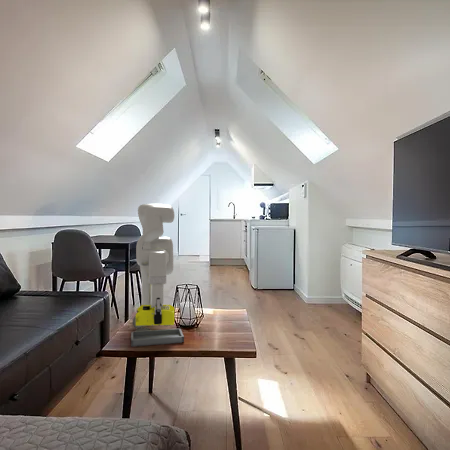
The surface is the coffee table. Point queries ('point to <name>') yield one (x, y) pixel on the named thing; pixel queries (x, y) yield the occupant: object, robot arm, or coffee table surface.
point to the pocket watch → (139, 328)
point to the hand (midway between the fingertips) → (157, 321)
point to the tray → (156, 337)
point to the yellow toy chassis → (147, 315)
